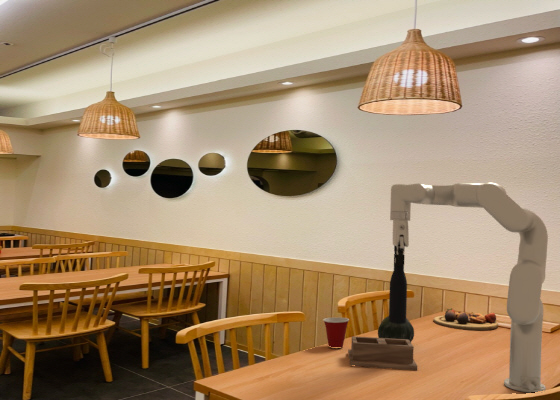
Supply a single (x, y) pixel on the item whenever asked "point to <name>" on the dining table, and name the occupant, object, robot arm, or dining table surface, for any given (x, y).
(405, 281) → the wine bottle
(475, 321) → the wooden plate with food
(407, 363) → the bottle rack
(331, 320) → the plastic cup
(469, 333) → the dining table surface
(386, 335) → the squash
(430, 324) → the dining table surface
